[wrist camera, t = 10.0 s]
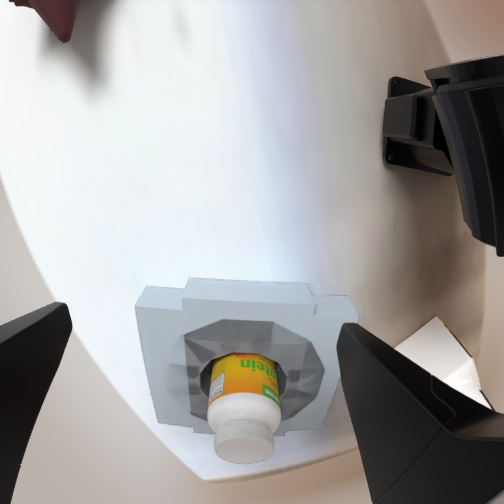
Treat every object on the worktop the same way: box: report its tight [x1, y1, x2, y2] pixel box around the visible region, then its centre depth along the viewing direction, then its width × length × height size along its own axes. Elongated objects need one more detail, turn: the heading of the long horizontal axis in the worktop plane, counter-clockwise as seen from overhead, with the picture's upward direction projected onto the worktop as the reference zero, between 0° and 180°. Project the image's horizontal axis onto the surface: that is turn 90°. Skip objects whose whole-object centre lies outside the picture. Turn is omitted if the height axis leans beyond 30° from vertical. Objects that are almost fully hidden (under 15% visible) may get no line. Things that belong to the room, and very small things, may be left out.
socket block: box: [135, 278, 359, 436], centre depth 25 cm, size 16×16×3 cm
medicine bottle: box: [394, 316, 495, 411], centre depth 21 cm, size 7×7×12 cm
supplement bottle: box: [207, 352, 281, 464], centre depth 21 cm, size 5×5×10 cm
